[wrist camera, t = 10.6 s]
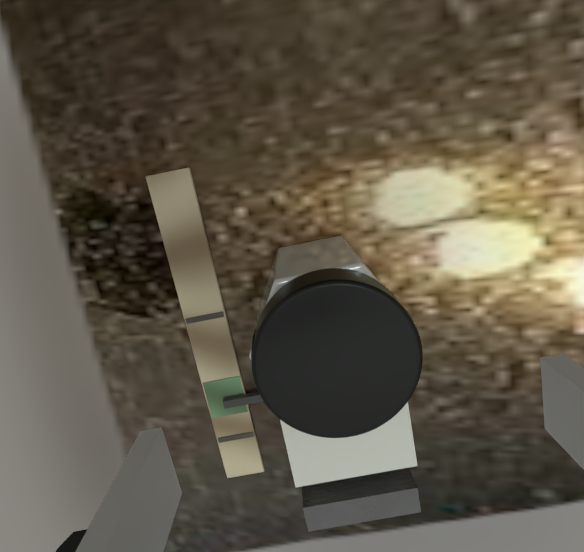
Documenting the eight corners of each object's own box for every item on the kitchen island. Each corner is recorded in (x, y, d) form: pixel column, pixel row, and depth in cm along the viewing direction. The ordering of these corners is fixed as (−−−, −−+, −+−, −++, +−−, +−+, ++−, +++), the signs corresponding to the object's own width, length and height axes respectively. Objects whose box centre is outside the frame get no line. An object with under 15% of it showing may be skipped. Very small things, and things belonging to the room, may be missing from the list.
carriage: (220, 382, 34) (206, 427, 28) (385, 352, 33) (406, 391, 28) (236, 444, 35) (226, 499, 29) (395, 415, 35) (417, 465, 29)
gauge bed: (147, 176, 30) (144, 176, 30) (190, 167, 30) (188, 167, 30) (228, 474, 36) (227, 479, 36) (264, 468, 36) (264, 472, 36)
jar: (236, 285, 32) (207, 351, 21) (321, 209, 31) (342, 236, 20) (317, 370, 34) (332, 476, 22) (401, 301, 33) (464, 376, 21)
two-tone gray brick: (301, 461, 36) (303, 507, 31) (399, 444, 36) (417, 487, 31) (305, 482, 36) (308, 531, 32) (403, 465, 36) (420, 512, 31)
